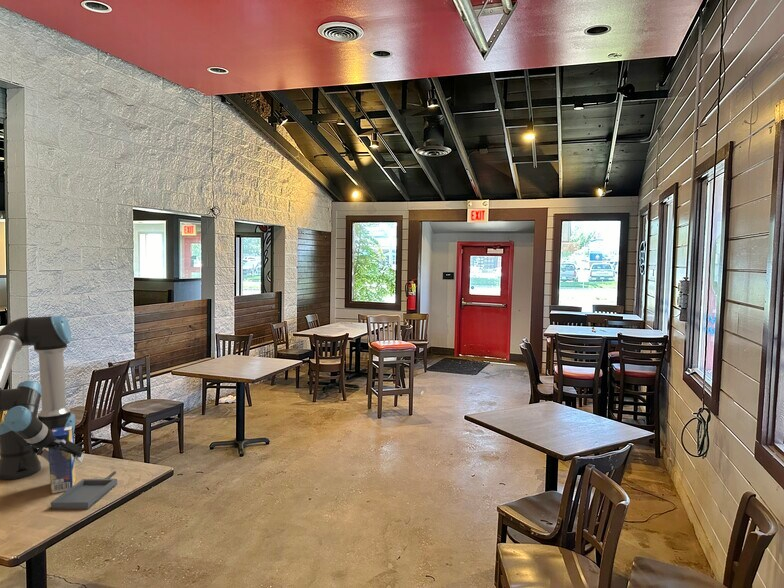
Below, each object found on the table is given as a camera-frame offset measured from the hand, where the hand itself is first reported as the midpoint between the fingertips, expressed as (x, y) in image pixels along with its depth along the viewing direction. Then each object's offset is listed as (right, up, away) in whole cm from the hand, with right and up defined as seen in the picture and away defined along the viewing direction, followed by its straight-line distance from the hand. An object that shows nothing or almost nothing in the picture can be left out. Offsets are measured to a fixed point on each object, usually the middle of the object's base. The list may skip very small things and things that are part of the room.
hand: (66, 459), depth 206 cm
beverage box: (0, -10, -2) cm, 10 cm away
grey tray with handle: (+14, -10, -6) cm, 18 cm away
